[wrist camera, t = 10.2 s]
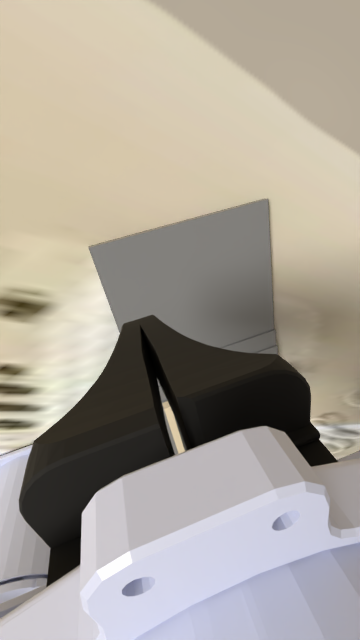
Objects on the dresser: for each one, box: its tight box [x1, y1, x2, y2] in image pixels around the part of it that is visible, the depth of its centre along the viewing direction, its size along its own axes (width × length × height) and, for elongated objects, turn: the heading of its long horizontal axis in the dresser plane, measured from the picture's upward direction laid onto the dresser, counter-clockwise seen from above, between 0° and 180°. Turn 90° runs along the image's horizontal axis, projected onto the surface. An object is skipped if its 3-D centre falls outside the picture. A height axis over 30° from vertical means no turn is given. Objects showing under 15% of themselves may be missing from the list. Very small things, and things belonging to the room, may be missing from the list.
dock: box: [89, 199, 278, 455], centre depth 23 cm, size 12×22×2 cm, turn 12°
